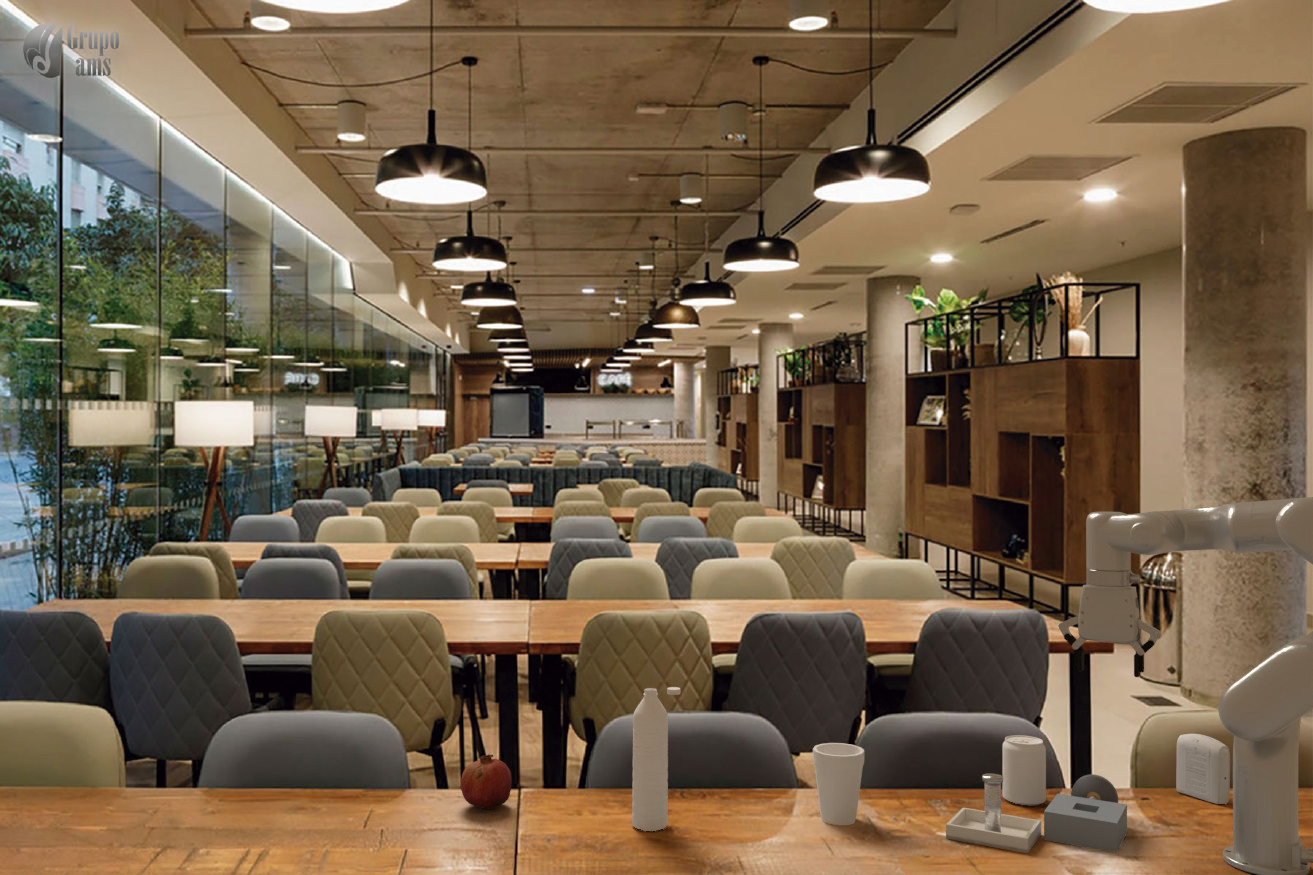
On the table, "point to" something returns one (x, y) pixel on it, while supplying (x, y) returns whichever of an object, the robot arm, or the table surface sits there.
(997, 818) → the lock pin
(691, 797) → the table surface
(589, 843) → the table surface
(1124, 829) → the tensioner block
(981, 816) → the tray
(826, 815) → the foam cup
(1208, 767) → the photo printer
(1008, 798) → the beverage can
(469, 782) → the fruit
